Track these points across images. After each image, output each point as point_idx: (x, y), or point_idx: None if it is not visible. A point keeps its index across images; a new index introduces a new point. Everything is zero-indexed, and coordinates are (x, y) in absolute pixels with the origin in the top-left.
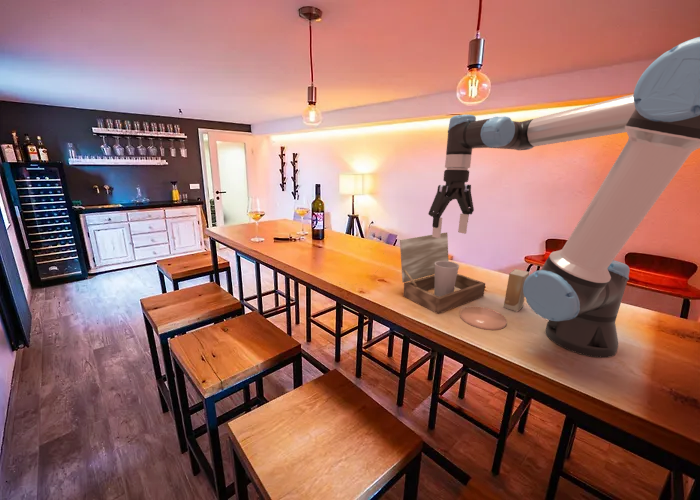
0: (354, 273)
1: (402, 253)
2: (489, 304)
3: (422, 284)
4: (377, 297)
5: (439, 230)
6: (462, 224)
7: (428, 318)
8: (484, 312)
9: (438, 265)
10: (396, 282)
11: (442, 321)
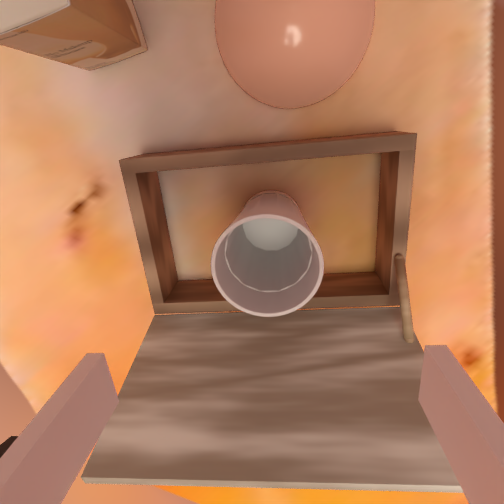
0: None
1: None
2: (174, 95)
3: None
4: (461, 310)
5: (483, 399)
6: (72, 439)
7: (451, 122)
8: (261, 41)
9: (267, 301)
10: None
11: (430, 82)
